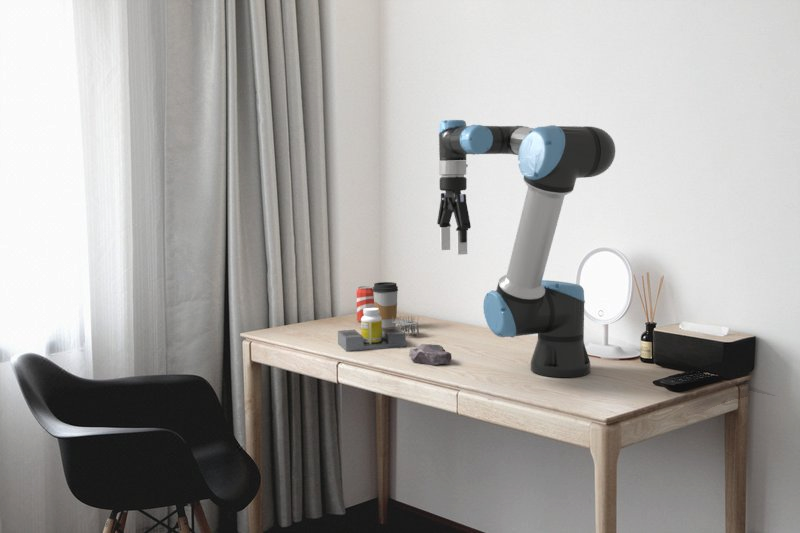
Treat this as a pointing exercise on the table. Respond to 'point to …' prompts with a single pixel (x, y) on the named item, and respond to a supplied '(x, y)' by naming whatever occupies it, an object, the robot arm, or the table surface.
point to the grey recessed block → (354, 342)
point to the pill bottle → (371, 326)
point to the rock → (430, 354)
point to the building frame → (407, 325)
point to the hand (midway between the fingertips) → (453, 252)
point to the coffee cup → (386, 302)
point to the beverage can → (364, 300)
